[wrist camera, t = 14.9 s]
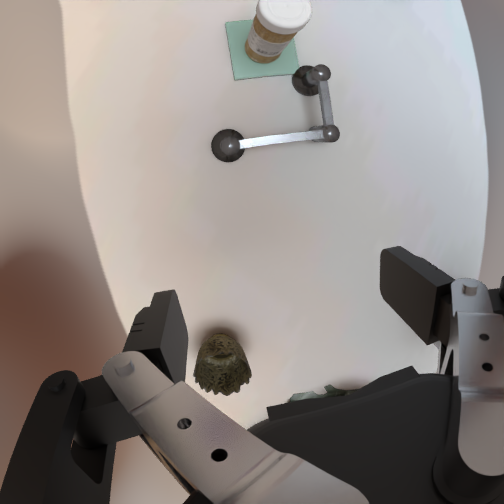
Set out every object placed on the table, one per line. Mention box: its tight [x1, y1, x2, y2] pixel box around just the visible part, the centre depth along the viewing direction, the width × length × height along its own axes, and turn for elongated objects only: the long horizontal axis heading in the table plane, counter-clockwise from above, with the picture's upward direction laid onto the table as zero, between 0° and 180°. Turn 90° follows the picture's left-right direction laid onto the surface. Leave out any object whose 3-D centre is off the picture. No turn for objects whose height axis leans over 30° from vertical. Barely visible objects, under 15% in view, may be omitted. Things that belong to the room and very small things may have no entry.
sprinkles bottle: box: [245, 0, 312, 64], centre depth 25 cm, size 5×5×14 cm
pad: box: [225, 20, 299, 80], centre depth 32 cm, size 8×8×1 cm
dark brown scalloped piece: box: [193, 333, 252, 396], centre depth 41 cm, size 8×7×8 cm
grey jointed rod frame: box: [211, 64, 340, 162], centre depth 32 cm, size 15×11×6 cm
